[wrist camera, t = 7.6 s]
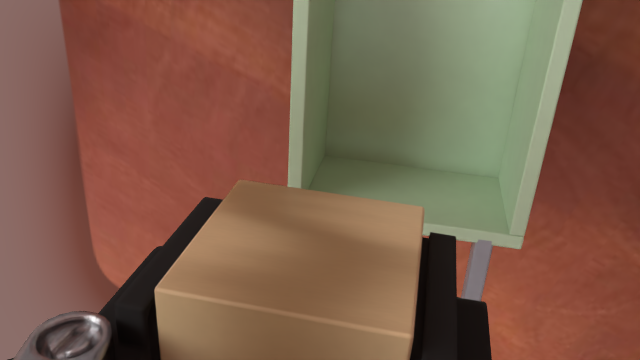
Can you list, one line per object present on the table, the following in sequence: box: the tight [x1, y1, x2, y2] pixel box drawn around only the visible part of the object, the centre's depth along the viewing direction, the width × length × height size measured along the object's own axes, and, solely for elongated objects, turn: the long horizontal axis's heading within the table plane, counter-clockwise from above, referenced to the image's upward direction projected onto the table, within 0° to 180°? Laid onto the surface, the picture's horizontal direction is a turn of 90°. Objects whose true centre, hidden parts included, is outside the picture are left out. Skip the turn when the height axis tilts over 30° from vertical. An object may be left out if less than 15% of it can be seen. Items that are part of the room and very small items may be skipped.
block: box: [154, 180, 425, 360], centre depth 11 cm, size 4×4×4 cm
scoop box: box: [288, 0, 583, 301], centre depth 19 cm, size 15×8×9 cm, turn 177°
